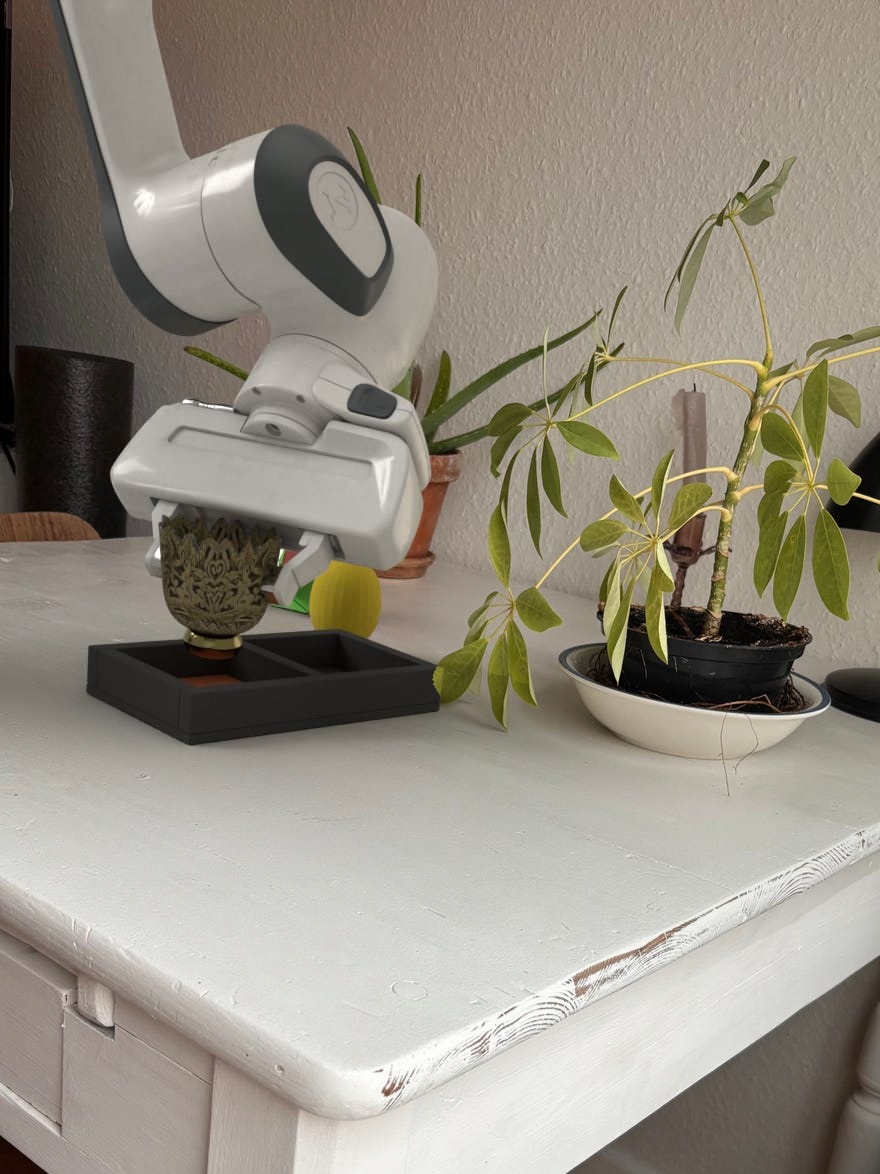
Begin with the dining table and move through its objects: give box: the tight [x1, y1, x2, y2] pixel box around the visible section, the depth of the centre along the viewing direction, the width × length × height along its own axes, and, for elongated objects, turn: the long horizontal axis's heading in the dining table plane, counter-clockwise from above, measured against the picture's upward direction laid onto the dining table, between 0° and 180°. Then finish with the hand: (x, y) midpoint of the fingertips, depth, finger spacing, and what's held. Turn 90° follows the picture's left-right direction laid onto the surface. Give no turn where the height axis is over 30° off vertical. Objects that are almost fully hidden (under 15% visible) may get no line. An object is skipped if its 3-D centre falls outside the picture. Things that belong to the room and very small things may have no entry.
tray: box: [86, 629, 442, 746], centre depth 85 cm, size 11×21×3 cm, turn 137°
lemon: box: [309, 560, 382, 639], centre depth 100 cm, size 6×6×8 cm
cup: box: [158, 513, 282, 659], centre depth 79 cm, size 8×7×8 cm
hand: (214, 586), depth 79 cm, fingers closed on cup, 7 cm apart
